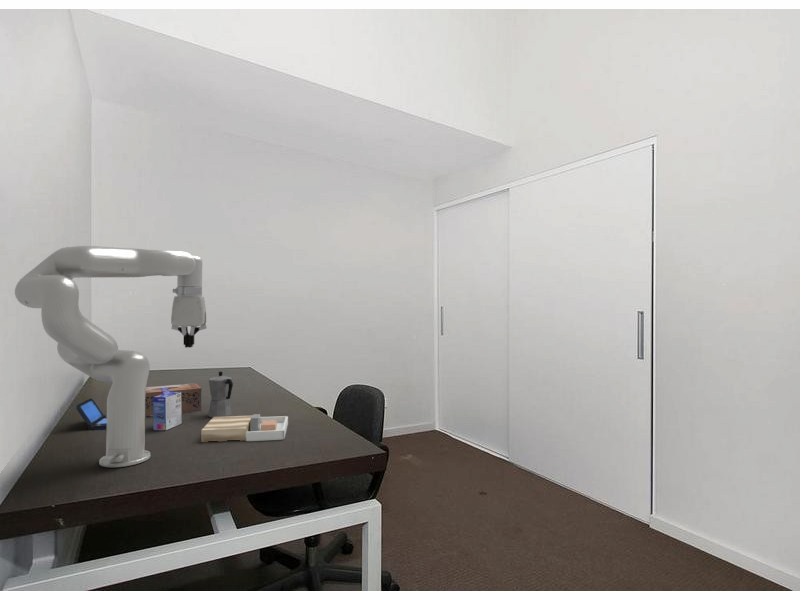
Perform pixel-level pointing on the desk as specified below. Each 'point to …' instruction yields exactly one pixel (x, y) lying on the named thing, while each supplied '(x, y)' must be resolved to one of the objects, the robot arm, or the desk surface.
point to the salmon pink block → (269, 425)
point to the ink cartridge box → (166, 410)
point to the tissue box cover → (188, 397)
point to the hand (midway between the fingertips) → (188, 347)
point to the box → (269, 435)
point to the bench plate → (226, 428)
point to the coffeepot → (220, 396)
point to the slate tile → (255, 422)
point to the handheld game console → (92, 415)
